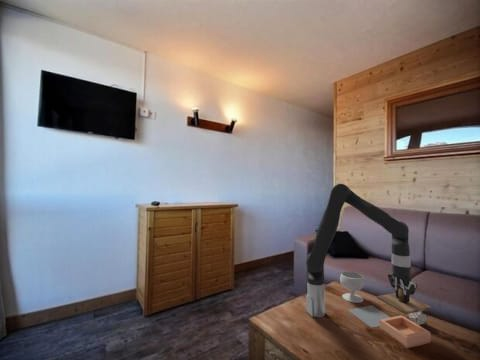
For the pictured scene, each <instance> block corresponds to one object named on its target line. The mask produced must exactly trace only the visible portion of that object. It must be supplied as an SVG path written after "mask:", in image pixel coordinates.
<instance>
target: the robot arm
mask: <svg viewBox="0 0 480 360" xmlns="http://www.w3.org/2000/svg"><path fill="white" fill-rule="evenodd" d="M345 204H347V205H349V206H351V207H353V208H355V209H356V210H357V211H359V212H360V213H362V215H364V216H365V217H367V218H368V219H370V221H373V222H374V223H376V224H377V225H379V226H381V227H382V228H383V229H384V230H385V231H386V232H388V233H389V234H390V235H391V240H392V241H391V271H392V273H388V274H387V278H388V280H389V283H390V286H391V288H394V291H395V293H396V298H398V299H399V296H398V287H402V289H403V292H404V294H403V295H404V302H409V301H410V299H409V296H411V295H412V296H413V295H414V294H415V292H416V290H417V288H418V286H419V285H418V284H417V283H414V282H413V281H412V278H411V276H412V263H411V262H412V261H411V253H410V250H411V249H410V244H409V232H410V229H409V226H408V225H407V224H406V223H405V222H404V221H402V220H401V221H400V220H398V219H396V218H394V217H392V216H391V215H390V213H388V212H386V211H384V210H383V209H381V208H380V207H378V206H376V205H374V204H373V203H371V202H369V201H367V200H365V199H364V198H362V197H361V196H359V195H358V194H356V193H355V192H354V191H352V189H350V187H348V186H347V185H346V184H344V183H336V184H335V185H333V186H332V188H331V190H330V194H329V199H328V203H327V205H326V208H325V209H324V212H323V214H322V217H321V219H320V221H319V224H318V227H317V231H316V234H315V239H314V244H313V248H312V249H311V252H310V253H309V254H308V255H307V256H306V261H305V262H306V282H307V283H306V287H307V288H306V289H307V294H305V299H306V300H305V302H306V303H305V304H306V312H307V313H308V314H309V316H311V317H312V318H313V317H314V318H323V317H325V315H326V301H325V300H326V297H325V296H326V295H325V266H324V265H325V261H326V257H327V254H328V251H329V248H330V246H331V244H332V241H333V239H334V237H335V235H336V233H337V230H338V226H339V223H340V216H341V211H342V210H343V209H342V208H343V206H344V205H345Z"/></svg>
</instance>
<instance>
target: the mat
mask: <svg viewBox="0 0 480 360" xmlns="http://www.w3.org/2000/svg"><path fill="white" fill-rule="evenodd" d="M347 311H348V312H349V313H351V314H352V315H354V316H355V317H356V318H357V319H359V320H360V321H361V322H363V323H364V324H366V325H367V326H368V327H370V328H377V327H380V324H379V320H380V319H385V318H390V317H391V316H390V315H388V314H387V313H385V312H383V311H381V310H380V309H378V308H376V307H375V306H374V305H367V306H362V307H356V308H349V309H347Z"/></svg>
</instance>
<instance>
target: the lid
mask: <svg viewBox="0 0 480 360" xmlns="http://www.w3.org/2000/svg"><path fill="white" fill-rule="evenodd" d="M403 294H404V292H403V289H402V286H401V287H398V296H399V299H398V298H396V292H393V293H388V294H387V293H386V294H381V295H377V296H376V299H377V300H380V301H381V302H383V303H385V304H386V305H389V306H390V307H391V308H393V309H396V310H397V311H399V312H400V313H402V314H404V315H408V314H410V313H415V312H420V311H421V312H424V311H429V310H432V306H430V305H429V304H426V303H424V302H422V301H420V300H418V299H416V298H414V297H412V296H411V295H409V299H410V301H409V302H404V295H403Z"/></svg>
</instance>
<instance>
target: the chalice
mask: <svg viewBox="0 0 480 360" xmlns="http://www.w3.org/2000/svg"><path fill="white" fill-rule="evenodd" d="M339 277H340V278H339V281H340V284H341V285H342V286H343V287H344V288H346V289H347V290H348V291H349V292H348V293H343V294H342V295H341V297H342V299H343V300H345V301H347V302H348V303H349V302H350V303H353V304H361V303H363V302H364V298H363V297H362V296H360V295H359V294H357V293H356V294H355V292H356V291H360V290H361V289H362V290H363V288H364V287H365V280H364V277H363V276H362V274H360V273H359V272H355V271H349V270H348V271H342V272H341V274H340V276H339Z"/></svg>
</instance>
